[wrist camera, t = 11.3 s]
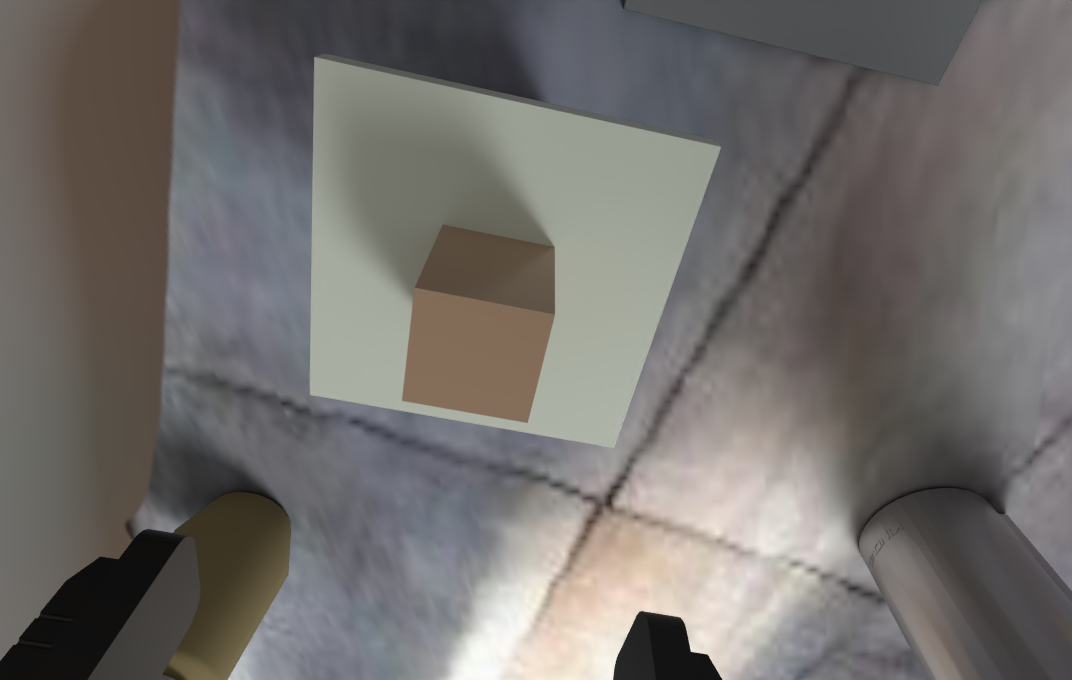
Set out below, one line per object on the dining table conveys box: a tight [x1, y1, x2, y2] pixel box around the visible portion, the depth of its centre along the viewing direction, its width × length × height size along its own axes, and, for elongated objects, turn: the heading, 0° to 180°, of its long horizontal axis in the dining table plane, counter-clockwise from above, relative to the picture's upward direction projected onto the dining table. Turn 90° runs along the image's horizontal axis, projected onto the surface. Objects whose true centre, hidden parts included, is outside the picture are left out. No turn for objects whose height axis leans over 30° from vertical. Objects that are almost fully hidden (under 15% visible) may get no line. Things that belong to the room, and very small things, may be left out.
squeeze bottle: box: [160, 492, 291, 680], centre depth 37 cm, size 8×8×18 cm
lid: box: [310, 54, 721, 448], centre depth 21 cm, size 13×13×6 cm
